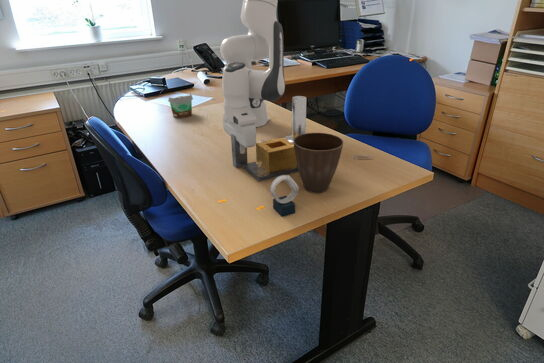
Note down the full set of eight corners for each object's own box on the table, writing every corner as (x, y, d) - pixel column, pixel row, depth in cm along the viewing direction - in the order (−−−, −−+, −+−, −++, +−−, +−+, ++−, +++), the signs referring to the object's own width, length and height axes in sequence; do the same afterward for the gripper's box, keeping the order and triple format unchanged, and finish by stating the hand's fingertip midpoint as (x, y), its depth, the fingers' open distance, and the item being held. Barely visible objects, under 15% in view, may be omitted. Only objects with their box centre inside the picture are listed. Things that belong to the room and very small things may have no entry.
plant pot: (317, 173, 135) (319, 129, 127) (349, 189, 124) (353, 142, 117) (283, 185, 127) (283, 139, 120) (314, 204, 116) (316, 154, 109)
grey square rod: (232, 164, 142) (230, 133, 136) (244, 162, 144) (242, 131, 138) (236, 167, 139) (234, 136, 134) (247, 165, 141) (246, 133, 136)
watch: (301, 211, 113) (301, 177, 108) (276, 218, 109) (275, 183, 104) (291, 202, 117) (292, 169, 112) (267, 209, 114) (266, 175, 109)
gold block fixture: (238, 163, 143) (234, 98, 132) (295, 150, 153) (296, 89, 142) (259, 181, 130) (256, 111, 119) (320, 165, 140) (323, 99, 129)
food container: (175, 120, 188) (172, 100, 183) (170, 117, 192) (167, 97, 188) (198, 115, 194) (196, 95, 190) (193, 112, 199) (191, 93, 194)
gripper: (217, 106, 139) (220, 143, 146) (241, 122, 123) (243, 162, 130) (233, 104, 142) (235, 139, 148) (259, 119, 126) (260, 158, 132)
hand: (239, 150), depth 139 cm, fingers closed on grey square rod, 3 cm apart
